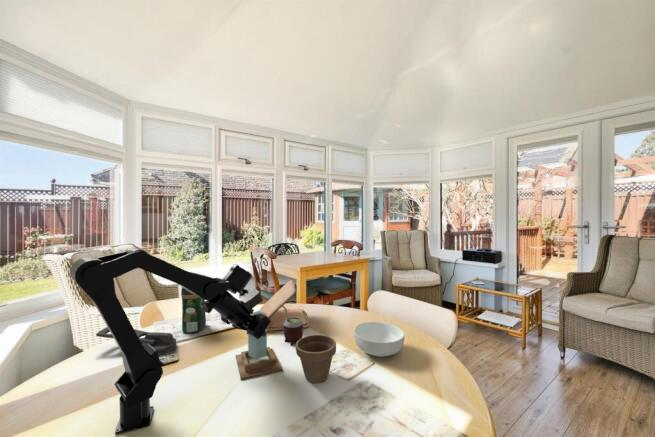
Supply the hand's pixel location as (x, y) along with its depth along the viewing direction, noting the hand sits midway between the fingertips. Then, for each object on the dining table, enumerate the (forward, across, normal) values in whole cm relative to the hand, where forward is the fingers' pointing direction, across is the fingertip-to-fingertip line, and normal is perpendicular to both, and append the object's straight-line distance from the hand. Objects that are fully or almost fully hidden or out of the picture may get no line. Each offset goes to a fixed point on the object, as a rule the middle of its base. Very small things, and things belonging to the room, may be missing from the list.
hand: (261, 332), depth 92 cm
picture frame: (+6, 0, +7) cm, 9 cm away
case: (+26, +21, -12) cm, 35 cm away
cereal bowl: (+28, -24, -15) cm, 40 cm away
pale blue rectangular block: (+4, 0, +6) cm, 7 cm away
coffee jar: (+5, +42, +9) cm, 43 cm away
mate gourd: (+18, +3, -4) cm, 19 cm away
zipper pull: (-9, +40, +23) cm, 47 cm away
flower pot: (+11, -19, +3) cm, 22 cm away
